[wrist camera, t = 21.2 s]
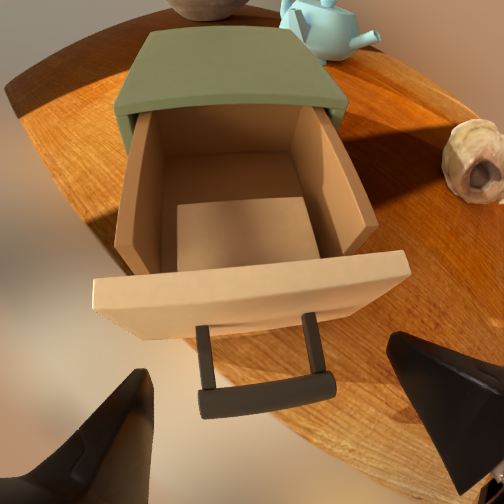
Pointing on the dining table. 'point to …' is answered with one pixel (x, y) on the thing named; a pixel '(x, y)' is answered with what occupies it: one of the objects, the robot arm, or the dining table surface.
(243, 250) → the beige rectangular block
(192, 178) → the drawer
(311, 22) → the teapot
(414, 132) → the dining table surface
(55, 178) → the dining table surface
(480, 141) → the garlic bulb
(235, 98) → the cabinet
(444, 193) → the dining table surface
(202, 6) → the vase
